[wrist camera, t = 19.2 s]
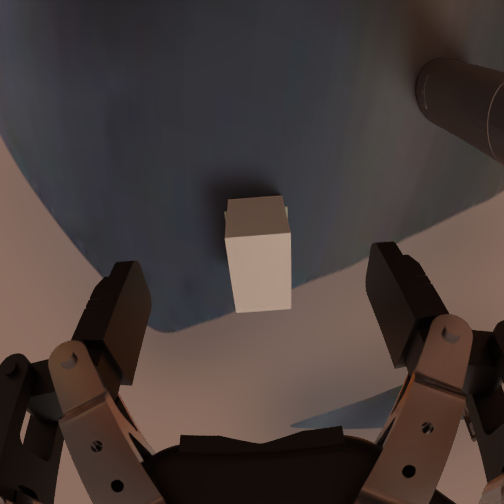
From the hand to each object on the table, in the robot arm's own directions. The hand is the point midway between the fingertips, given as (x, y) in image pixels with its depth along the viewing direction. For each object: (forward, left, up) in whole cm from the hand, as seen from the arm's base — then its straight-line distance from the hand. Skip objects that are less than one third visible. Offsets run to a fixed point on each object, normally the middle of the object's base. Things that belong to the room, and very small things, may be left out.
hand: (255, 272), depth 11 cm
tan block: (0, +16, -28) cm, 32 cm away
